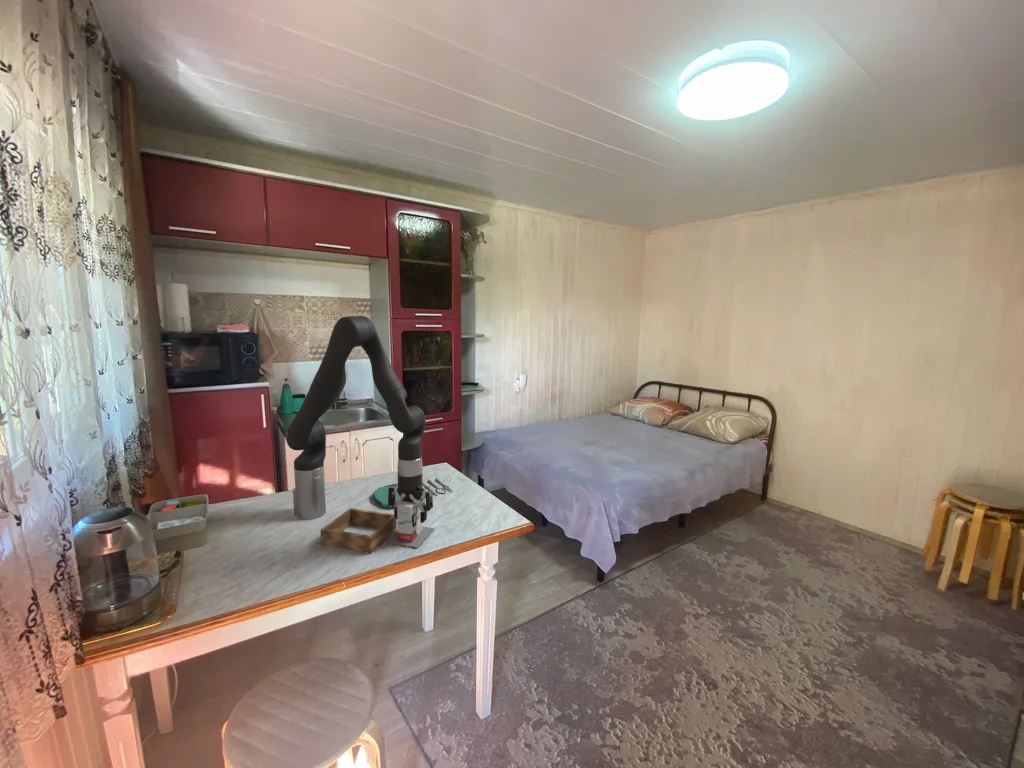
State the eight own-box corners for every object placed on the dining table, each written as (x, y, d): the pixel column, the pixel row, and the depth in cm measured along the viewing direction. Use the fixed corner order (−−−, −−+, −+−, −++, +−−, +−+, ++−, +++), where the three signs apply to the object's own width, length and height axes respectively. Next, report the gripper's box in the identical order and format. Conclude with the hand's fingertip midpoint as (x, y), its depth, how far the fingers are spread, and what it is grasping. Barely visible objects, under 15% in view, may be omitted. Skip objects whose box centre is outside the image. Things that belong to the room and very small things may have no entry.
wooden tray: (321, 545, 127) (320, 529, 126) (350, 521, 141) (350, 508, 141) (371, 553, 123) (371, 537, 122) (396, 529, 138) (396, 514, 137)
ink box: (411, 542, 129) (410, 506, 127) (396, 540, 130) (396, 504, 128) (423, 529, 137) (422, 495, 135) (409, 527, 138) (408, 493, 136)
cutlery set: (365, 494, 164) (365, 488, 164) (436, 479, 181) (436, 474, 181) (382, 514, 148) (382, 508, 148) (458, 496, 166) (458, 491, 165)
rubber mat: (385, 543, 129) (385, 542, 129) (403, 525, 140) (403, 523, 140) (418, 549, 126) (418, 547, 126) (434, 529, 138) (434, 528, 138)
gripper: (382, 472, 128) (384, 522, 130) (426, 478, 125) (426, 528, 127) (395, 464, 135) (395, 511, 138) (436, 469, 132) (436, 517, 134)
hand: (410, 520), depth 132 cm, fingers open, 8 cm apart
